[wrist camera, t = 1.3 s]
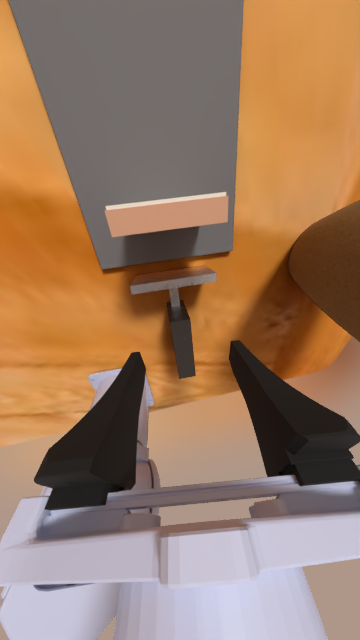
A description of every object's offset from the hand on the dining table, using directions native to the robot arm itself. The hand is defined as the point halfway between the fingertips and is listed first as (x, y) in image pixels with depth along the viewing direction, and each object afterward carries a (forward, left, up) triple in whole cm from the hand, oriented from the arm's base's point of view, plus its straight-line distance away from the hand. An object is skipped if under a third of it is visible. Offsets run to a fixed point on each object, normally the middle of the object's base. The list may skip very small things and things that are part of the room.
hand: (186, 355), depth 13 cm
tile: (+10, 0, -8) cm, 13 cm away
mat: (+15, 0, -9) cm, 17 cm away
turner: (-1, 0, -9) cm, 9 cm away
